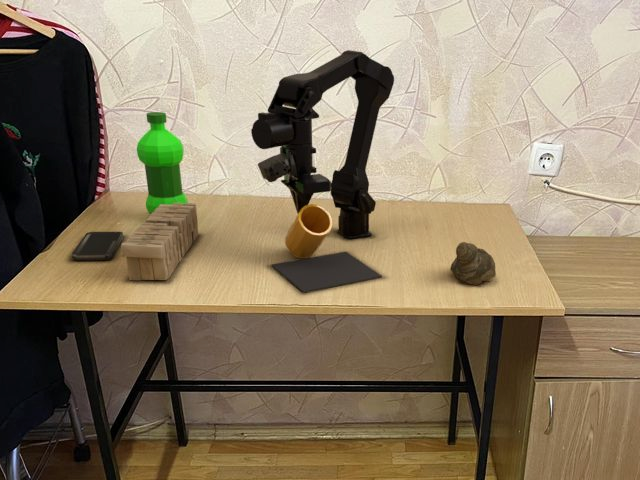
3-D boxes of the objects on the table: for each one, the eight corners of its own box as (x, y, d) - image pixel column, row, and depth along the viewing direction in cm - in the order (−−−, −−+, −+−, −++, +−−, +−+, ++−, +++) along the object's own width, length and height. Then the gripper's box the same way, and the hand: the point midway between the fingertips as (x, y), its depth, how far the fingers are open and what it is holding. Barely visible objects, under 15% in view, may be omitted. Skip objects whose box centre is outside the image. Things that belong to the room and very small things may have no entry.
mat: (345, 253, 163) (345, 251, 163) (381, 277, 151) (381, 275, 151) (271, 266, 153) (271, 264, 153) (303, 293, 142) (303, 291, 142)
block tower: (166, 237, 167) (124, 282, 141) (161, 202, 164) (118, 241, 137) (200, 238, 168) (165, 284, 142) (197, 203, 164) (160, 243, 138)
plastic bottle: (144, 226, 171) (129, 117, 159) (149, 212, 180) (135, 109, 168) (189, 225, 173) (177, 118, 161) (191, 211, 182) (180, 109, 170)
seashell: (433, 243, 154) (445, 259, 145) (479, 213, 153) (494, 228, 145) (458, 283, 160) (471, 301, 151) (502, 255, 159) (518, 271, 150)
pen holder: (309, 225, 162) (324, 201, 152) (322, 254, 161) (337, 231, 152) (279, 232, 158) (293, 207, 149) (292, 261, 157) (306, 238, 148)
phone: (70, 255, 149) (87, 231, 162) (71, 260, 149) (88, 236, 162) (110, 255, 150) (124, 231, 163) (111, 260, 151) (125, 236, 164)
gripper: (244, 135, 152) (249, 206, 159) (279, 155, 138) (283, 232, 146) (293, 132, 158) (295, 201, 165) (331, 150, 144) (332, 225, 152)
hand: (300, 214), depth 157 cm, fingers closed
